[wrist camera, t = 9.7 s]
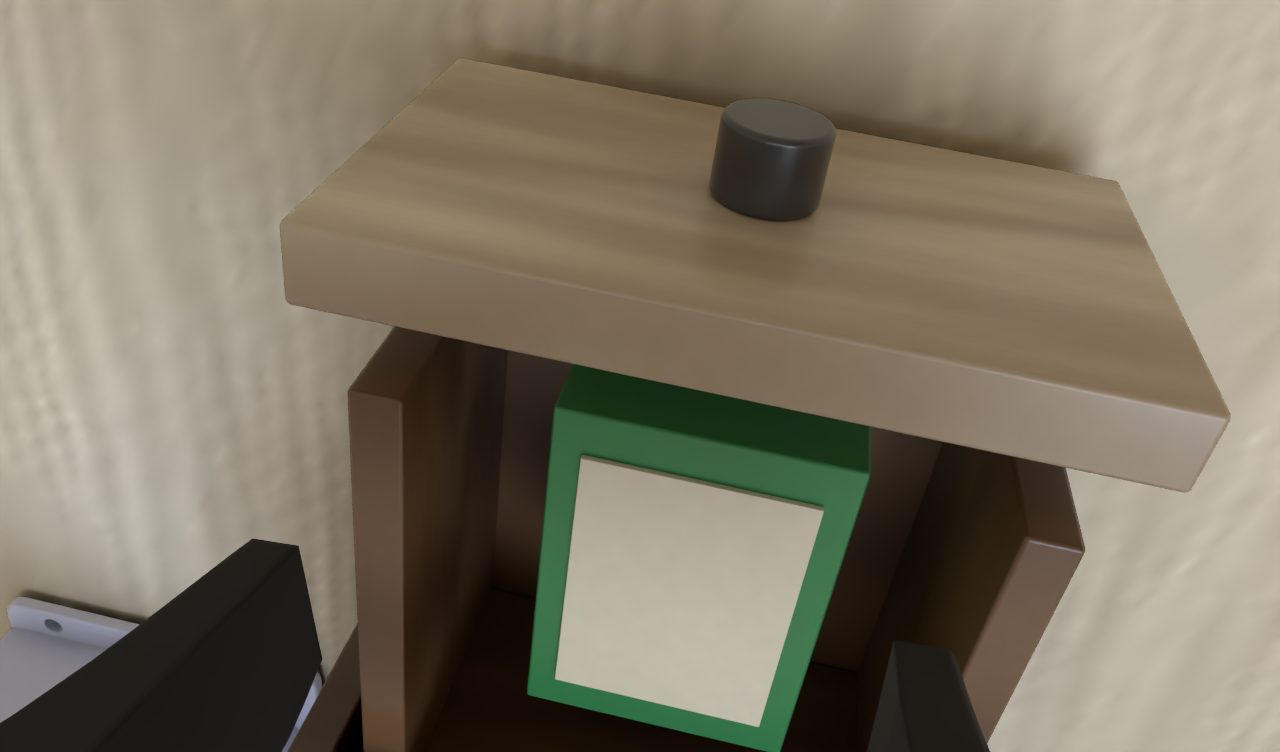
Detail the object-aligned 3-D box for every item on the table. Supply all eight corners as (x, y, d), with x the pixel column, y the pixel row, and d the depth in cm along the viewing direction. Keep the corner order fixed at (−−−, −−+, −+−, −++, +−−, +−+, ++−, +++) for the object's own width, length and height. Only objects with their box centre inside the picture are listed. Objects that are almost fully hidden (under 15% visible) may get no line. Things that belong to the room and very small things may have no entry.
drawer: (460, -15, 18) (269, 128, 12) (1148, 110, 17) (1286, 327, 11) (445, 564, 25) (325, 812, 20) (914, 671, 24) (925, 963, 19)
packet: (583, 528, 22) (524, 700, 19) (616, 262, 19) (550, 411, 15) (795, 575, 22) (778, 761, 18) (872, 314, 18) (871, 478, 15)
